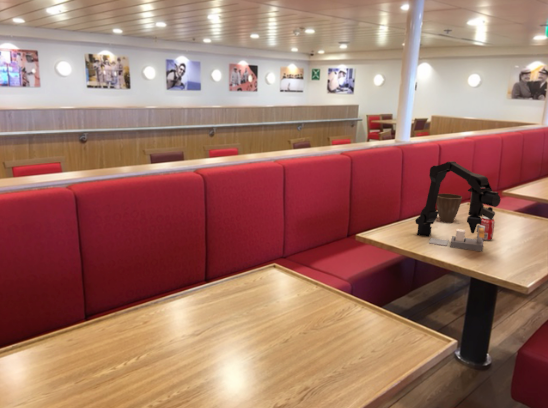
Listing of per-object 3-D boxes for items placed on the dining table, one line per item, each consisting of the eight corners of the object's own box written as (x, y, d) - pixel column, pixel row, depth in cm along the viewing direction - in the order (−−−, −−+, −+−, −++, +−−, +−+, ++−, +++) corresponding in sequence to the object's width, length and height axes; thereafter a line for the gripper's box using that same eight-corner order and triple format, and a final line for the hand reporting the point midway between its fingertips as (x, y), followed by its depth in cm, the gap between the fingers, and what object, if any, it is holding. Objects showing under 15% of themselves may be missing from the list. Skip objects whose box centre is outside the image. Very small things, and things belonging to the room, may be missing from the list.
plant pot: (428, 219, 277) (430, 194, 274) (446, 217, 284) (448, 192, 280) (446, 225, 264) (449, 199, 261) (464, 222, 270) (467, 197, 267)
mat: (428, 243, 230) (428, 242, 230) (430, 238, 238) (430, 237, 238) (447, 246, 227) (447, 245, 227) (448, 241, 235) (448, 240, 234)
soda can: (489, 237, 242) (492, 216, 240) (494, 241, 235) (497, 219, 233) (476, 236, 243) (478, 215, 240) (480, 240, 236) (483, 219, 233)
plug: (454, 245, 227) (456, 231, 226) (455, 243, 231) (456, 229, 229) (463, 247, 226) (464, 232, 224) (463, 244, 229) (465, 230, 227)
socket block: (450, 247, 226) (451, 231, 224) (451, 241, 234) (453, 226, 233) (482, 251, 219) (484, 236, 218) (482, 245, 228) (484, 230, 226)
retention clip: (485, 239, 211) (486, 233, 210) (477, 238, 212) (478, 232, 212) (484, 231, 224) (484, 225, 223) (476, 230, 225) (476, 224, 224)
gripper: (495, 208, 202) (490, 241, 206) (495, 200, 218) (490, 230, 222) (468, 205, 206) (464, 237, 210) (470, 197, 223) (466, 227, 227)
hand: (472, 233), depth 217 cm, fingers closed
